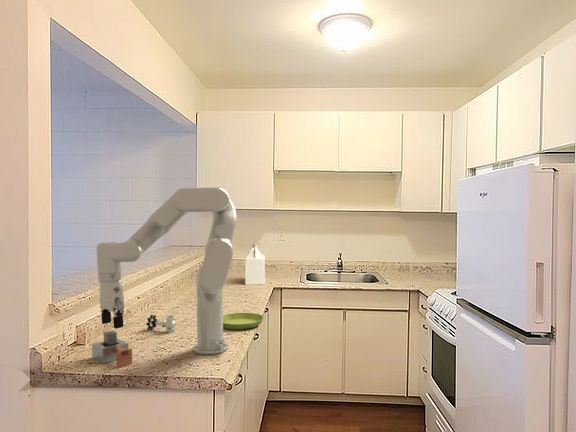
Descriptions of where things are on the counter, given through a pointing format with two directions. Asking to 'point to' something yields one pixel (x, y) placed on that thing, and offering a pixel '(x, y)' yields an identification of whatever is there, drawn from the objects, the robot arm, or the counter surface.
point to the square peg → (110, 338)
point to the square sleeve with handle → (112, 353)
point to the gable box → (255, 266)
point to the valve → (162, 323)
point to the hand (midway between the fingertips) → (112, 325)
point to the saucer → (242, 320)
